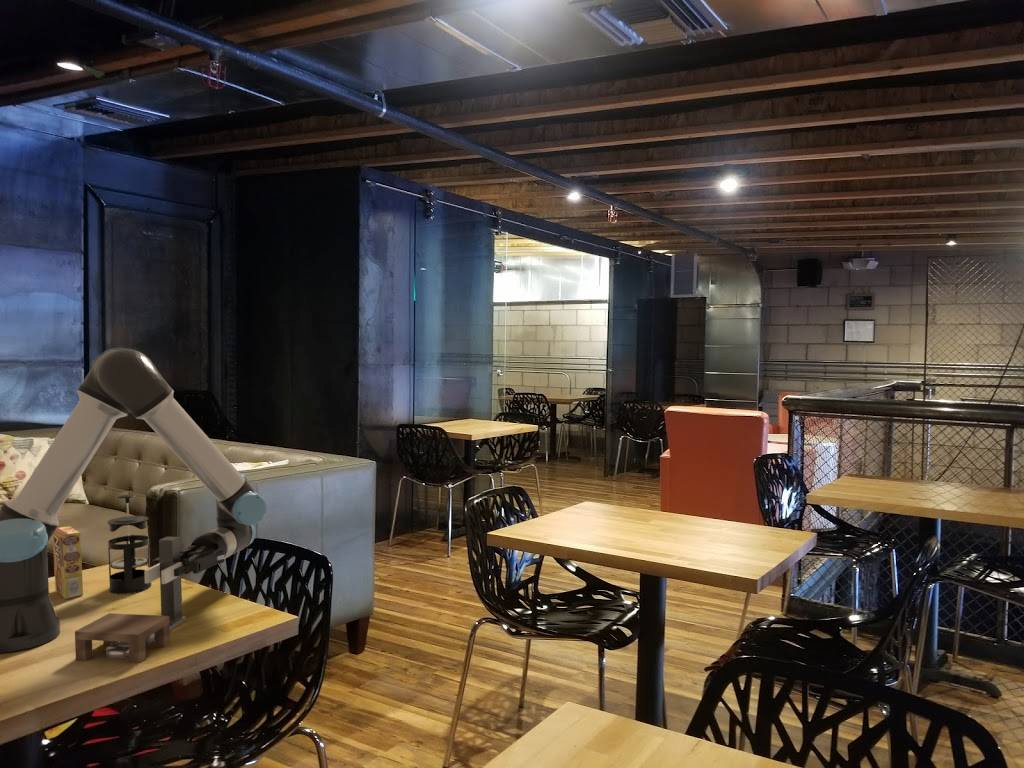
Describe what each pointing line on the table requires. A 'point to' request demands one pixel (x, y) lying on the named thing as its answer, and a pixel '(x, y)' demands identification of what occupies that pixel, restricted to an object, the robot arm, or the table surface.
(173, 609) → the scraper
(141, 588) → the french press
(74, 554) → the candy box
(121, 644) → the disc
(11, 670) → the table surface
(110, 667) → the table surface
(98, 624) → the stand
